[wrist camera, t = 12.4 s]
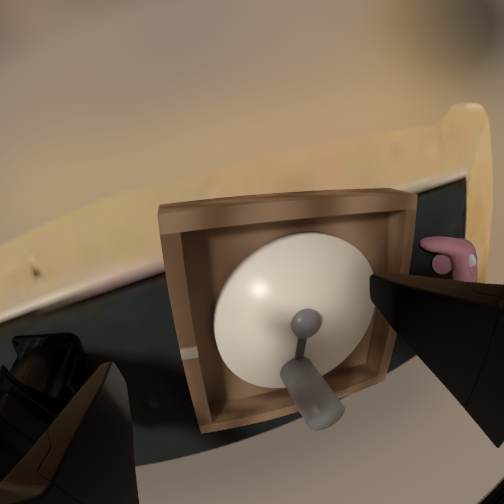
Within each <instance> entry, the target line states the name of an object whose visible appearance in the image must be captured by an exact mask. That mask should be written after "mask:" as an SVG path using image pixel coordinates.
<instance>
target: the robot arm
mask: <svg viewBox="0 0 504 504" xmlns="http://www.w3.org/2000/svg"><path fill="white" fill-rule="evenodd" d="M369 289H370V299H371V301H372V302H373V304H374V305H375V306H376V308H377V309H378V310H379V312H380V313H381V314H382V315H383V317H384V318H385V319H386V321H387V322H388V323H389V325H390V326H391V327H392V328H393V330H394V331H395V332H396V333H397V334H398V335H399V336H400V337H401V338H402V340H403V341H404V342H405V343H406V344H407V345H408V346H409V347H410V348H411V349H412V350H413V351H414V352H415V353H416V355H417V356H418V357H419V358H420V359H421V360H422V361H423V362H424V363H425V364H426V365H427V366H428V368H429V369H430V370H431V371H432V372H433V373H434V374H435V375H436V377H437V378H438V379H439V380H440V381H441V382H442V383H443V384H444V385H445V387H446V388H447V389H448V390H449V391H450V392H451V394H452V395H453V396H454V397H455V398H456V399H457V400H458V401H459V403H460V404H461V405H462V406H463V407H464V408H465V410H466V411H467V412H468V413H469V415H470V416H471V417H472V418H473V419H474V421H475V422H476V423H477V424H478V425H479V426H480V428H481V429H482V430H483V431H484V433H485V434H486V435H487V436H488V437H489V439H490V440H491V441H492V442H493V444H494V445H495V446H496V447H497V448H499V447H500V446H501V445H502V444H503V442H504V285H501V284H486V283H476V282H467V281H466V282H464V281H458V280H450V279H441V278H433V277H424V276H416V275H407V274H399V273H391V272H382V271H379V272H376V273H374V274H372V275H371V276H370V278H369ZM65 338H67V339H68V340H69V341H68V340H66V339H65ZM16 341H17V342H18V343H17V342H16ZM12 344H13V346H14V349H15V351H16V353H17V355H18V357H17V358H16V360H15V362H14V364H13V366H12V368H11V370H10V372H9V371H8V369H7V368H6V367H5V366H4V365H2V366H1V367H0V504H139V498H138V490H137V482H136V472H135V460H134V446H133V429H132V419H131V413H130V406H129V399H128V391H127V384H126V381H125V379H124V378H123V376H122V374H121V373H120V371H119V369H118V368H117V366H116V365H115V363H114V362H107V363H103V364H101V365H100V366H99V367H98V369H97V370H96V371H95V372H94V373H93V374H92V376H90V374H89V372H88V370H87V367H86V365H85V362H84V360H83V358H82V356H81V355H79V353H78V350H77V348H76V345H75V342H74V340H73V337H72V336H71V335H70V334H69V333H58V334H44V335H28V336H14V338H13V339H12ZM477 504H504V477H503V478H502V479H501V480H500V481H499V483H497V484H496V485H495V487H494V488H493V489H492V490H491V491H490V492H489V493H487V495H485V496H484V497H483V498H482V499H481V500H480V501H479V502H478V503H477Z"/></svg>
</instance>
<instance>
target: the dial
mask: <svg viewBox="0 0 504 504" xmlns="http://www.w3.org/2000/svg"><path fill="white" fill-rule="evenodd" d="M372 274H373V271H372V269H371V266H370V265H369V263H368V261H367V259H366V258H365V257H364V255H363V254H362V253H361V252H360V251H359V250H358V249H357V248H356V247H354V246H353V245H351V244H349V243H348V242H346V241H344V240H342V239H340V238H338V237H336V236H334V235H331V234H328V233H324V232H318V231H300V232H294V233H289V234H285V235H282V236H280V237H277V238H274V239H272V240H270V241H268V242H266V243H264V244H262V245H261V246H259V247H258V248H256V249H255V250H253V251H252V252H251V253H250V254H248V255H247V256H246V257H245V258H244V259H243V260H242V261H241V262H240V263H239V264H238V265H237V266H236V267H235V268H234V269H233V271H232V272H231V273H230V275H229V276H228V278H227V279H226V281H225V283H224V284H223V286H222V288H221V290H220V292H219V295H218V298H217V300H216V304H215V308H214V314H213V331H214V336H215V340H216V344H217V347H218V350H219V353H220V355H221V357H222V359H223V361H224V362H225V364H226V365H227V367H228V368H229V369H230V370H231V371H232V372H233V373H234V374H235V375H237V376H238V377H239V378H241V379H243V380H244V381H246V382H248V383H251V384H254V385H257V386H261V387H267V388H286V389H287V390H288V392H289V394H290V396H291V397H292V399H293V401H294V403H295V404H296V406H297V408H298V410H299V411H300V413H301V415H302V417H303V418H304V420H305V422H306V424H307V425H308V427H309V429H311V430H315V431H318V430H323V429H326V428H328V427H330V426H331V425H333V424H335V423H336V422H337V421H338V420H339V419H340V418H341V417H342V415H343V413H344V410H345V408H344V406H343V405H342V403H341V402H340V400H339V399H338V398H337V396H336V395H335V394H334V392H333V391H332V389H331V388H330V387H329V385H328V384H327V383H326V381H325V380H324V379H323V377H322V376H323V375H324V374H326V373H328V372H329V371H331V370H332V369H334V368H335V367H336V366H338V365H339V364H340V363H341V362H342V361H344V360H345V359H346V358H347V357H348V356H349V355H350V354H351V352H352V351H353V350H354V349H355V348H356V346H357V345H358V344H359V342H360V341H361V339H362V338H363V336H364V334H365V332H366V331H367V329H368V326H369V324H370V322H371V319H372V316H373V312H374V308H375V305H374V304H373V302H372V301H371V299H370V289H369V278H370V276H371V275H372Z"/></svg>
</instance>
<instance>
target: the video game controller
mask: <svg viewBox="0 0 504 504" xmlns="http://www.w3.org/2000/svg"><path fill="white" fill-rule="evenodd" d="M420 246H421V247H422V248H423V249H425V250H428V251H430V252H436V253H438V254H437V255H436V256H435V257H434V259H433V261H432V266H433V269H434V271H435V272H436V273H438V274H446V273H448V272H449V271H451V270H453V273H452V280H458V281H464V282H466V281H467V282H476V281H477V256H476V251H475V248H474V245H473V244H472V243H471V242H470V241H468V240H466V239H457V238H452V237H440V236H434V237H426V238H424V239H421V240H420Z"/></svg>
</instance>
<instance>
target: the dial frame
mask: <svg viewBox="0 0 504 504" xmlns="http://www.w3.org/2000/svg"><path fill="white" fill-rule="evenodd" d="M416 208H417V194H413V193H409V192H404V191H400V190H396V189H391V188H380V189H346V190H323V191H305V192H288V193H274V194H261V195H249V196H237V197H226V198H216V199H206V200H197V201H188V202H179V203H171V204H163V205H159V209H158V222H159V230H160V238H161V245H162V252H163V259H164V266H165V272H166V279H167V285H168V291H169V296H170V302H171V307H172V313H173V318H174V323H175V328H176V333H177V338H178V343H179V348H180V353H181V357H182V361H183V366H184V370H185V374H186V378H187V382H188V386H189V390H190V394H191V398H192V402H193V406H194V410H195V413H196V417H197V421H198V424H199V428H200V431H201V434H202V433H208V432H214V431H220V430H225V429H230V428H235V427H240V426H244V425H249V424H253V423H258V422H262V421H266V420H270V419H274V418H277V417H281V416H285V415H288V414H292V413H295V412H299V413H300V411H299V410H298V408H297V406H296V404H295V403H294V401H293V399H292V397H291V396H290V394H289V392H288V390H287V389H286V388H267V387H261V386H257V385H254V384H251V383H248V382H246V381H244V380H243V379H241V378H239V377H238V376H237V375H235V374H234V373H233V372H232V371H231V370H230V369H229V368H228V367H227V365H226V364H225V362H224V361H223V359H222V357H221V355H220V353H219V350H218V347H217V344H216V340H215V336H214V331H213V314H214V308H215V304H216V300H217V298H218V295H219V292H220V290H221V288H222V286H223V284H224V283H225V281H226V279H227V278H228V276H229V275H230V273H231V272H232V271H233V269H234V268H235V267H236V266H237V265H238V264H239V263H240V262H241V261H242V260H243V259H244V258H245V257H246V256H247V255H248V254H250V253H251V252H252V251H253V250H255V249H256V248H258V247H259V246H261V245H262V244H264V243H266V242H268V241H270V240H272V239H274V238H277V237H280V236H282V235H285V234H289V233H294V232H300V231H318V232H324V233H328V234H331V235H334V236H336V237H338V238H340V239H342V240H344V241H346V242H348V243H349V244H351V245H353V246H354V247H356V248H357V249H358V250H359V251H360V252H361V253H362V254H363V255H364V257H365V258H366V259H367V261H368V263H369V265H370V266H371V269H372V271H373V274H374V273H376V272H379V271H382V272H391V273H399V274H407V275H409V270H410V263H411V256H412V248H413V240H414V231H415V220H416ZM396 336H397V333H396V332H395V331H394V330H393V328H392V327H391V326H390V325H389V323H388V322H387V321H386V319H385V318H384V317H383V315H382V314H381V313H380V312H379V310H378V309H377V308H376V306H375V308H374V312H373V316H372V319H371V322H370V324H369V326H368V329H367V331H366V332H365V334H364V336H363V338H362V339H361V341H360V342H359V344H358V345H357V346H356V348H355V349H354V350H353V351H352V352H351V354H350V355H349V356H348V357H347V358H346V359H345V360H344V361H342V362H341V363H340V364H339V365H338V366H336V367H335V368H334V369H332V370H331V371H329V372H328V373H326V374H324V375H323V376H322V377H323V379H324V380H325V381H326V383H327V384H328V385H329V387H330V388H331V389H332V391H333V392H334V394H335V395H336V396H337V398H338V399H339V398H341V397H344V396H347V395H349V394H352V393H355V392H357V391H360V390H362V389H365V388H367V387H370V386H372V385H375V384H377V383H380V382H382V381H384V380H385V377H386V374H387V370H388V367H389V363H390V360H391V356H392V352H393V348H394V344H395V340H396Z"/></svg>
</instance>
